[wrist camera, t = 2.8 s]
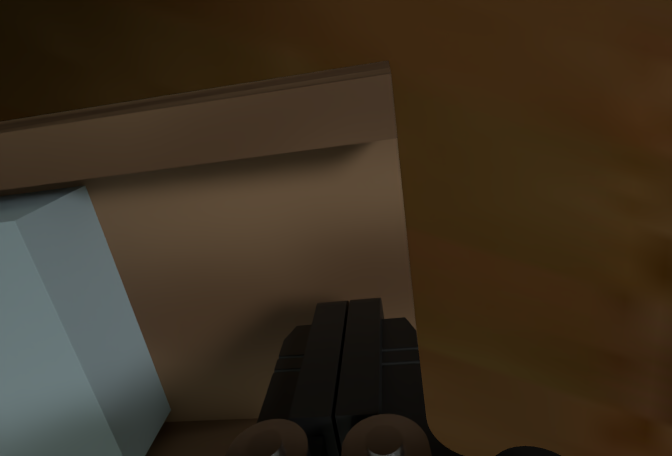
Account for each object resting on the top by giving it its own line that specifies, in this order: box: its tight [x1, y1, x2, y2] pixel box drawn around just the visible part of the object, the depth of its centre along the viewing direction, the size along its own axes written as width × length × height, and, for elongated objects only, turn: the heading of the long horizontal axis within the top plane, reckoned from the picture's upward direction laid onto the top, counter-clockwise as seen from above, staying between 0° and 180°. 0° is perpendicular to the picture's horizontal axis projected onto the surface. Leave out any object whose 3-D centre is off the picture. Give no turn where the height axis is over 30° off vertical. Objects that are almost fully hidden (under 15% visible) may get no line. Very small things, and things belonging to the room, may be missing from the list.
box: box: [0, 61, 418, 456], centre depth 14 cm, size 11×20×5 cm, turn 99°
